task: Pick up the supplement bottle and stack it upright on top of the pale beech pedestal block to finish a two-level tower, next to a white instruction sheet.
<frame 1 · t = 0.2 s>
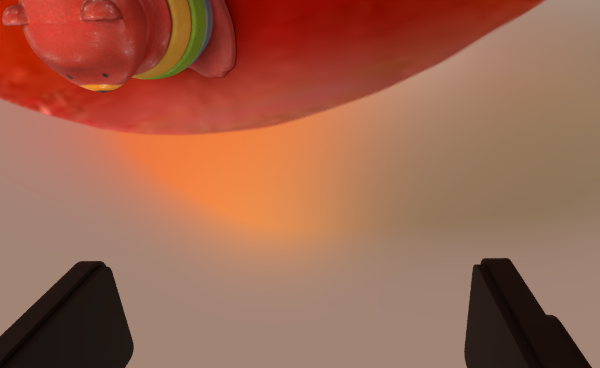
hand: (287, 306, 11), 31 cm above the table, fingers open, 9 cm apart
stacking bear: (179, 18, 38), on the table
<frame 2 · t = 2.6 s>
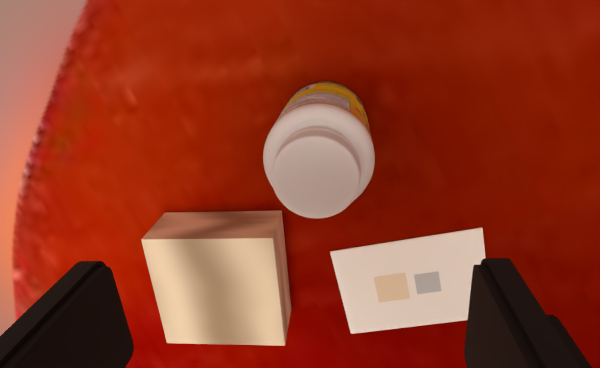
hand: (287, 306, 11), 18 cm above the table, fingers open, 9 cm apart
pedestal: (230, 262, 33), on the table
instruction sheet: (411, 284, 32), on the table
supplement bottle: (325, 120, 28), on the table
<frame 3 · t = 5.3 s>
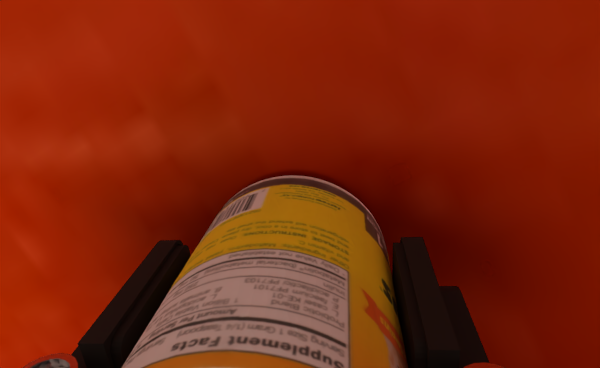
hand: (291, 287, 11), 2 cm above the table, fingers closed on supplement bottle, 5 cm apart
supplement bottle: (299, 244, 13), on the table, touching gripper
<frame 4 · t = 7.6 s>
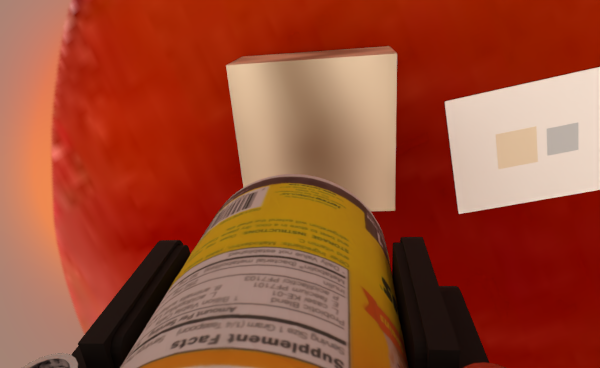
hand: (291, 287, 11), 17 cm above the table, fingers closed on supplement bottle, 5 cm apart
pedestal: (318, 123, 27), on the table
instruction sheet: (541, 142, 26), on the table
supplement bottle: (299, 243, 13), point 15 cm above the table, touching gripper
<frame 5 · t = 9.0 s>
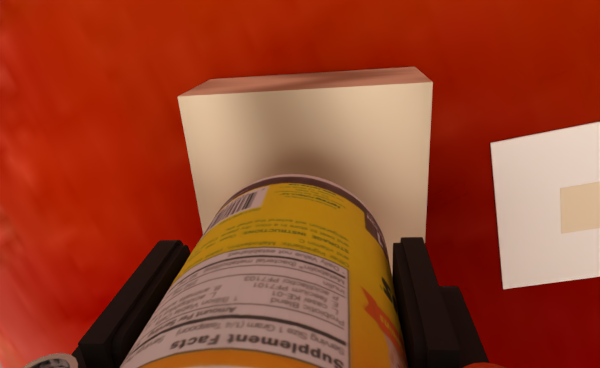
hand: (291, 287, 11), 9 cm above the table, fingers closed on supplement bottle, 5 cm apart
pedestal: (315, 169, 20), on the table
supplement bottle: (299, 243, 13), point 7 cm above the table, touching gripper
when the fingers open (7 cm above the table, at t = 10.2 s): supplement bottle drops 1 cm, resting on pedestal.
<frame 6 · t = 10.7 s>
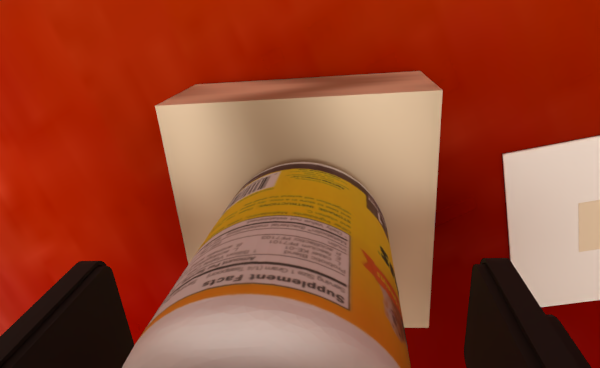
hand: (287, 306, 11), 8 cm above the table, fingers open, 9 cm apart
pedestal: (311, 181, 18), on the table
supplement bottle: (307, 227, 15), point 4 cm above the table, touching pedestal
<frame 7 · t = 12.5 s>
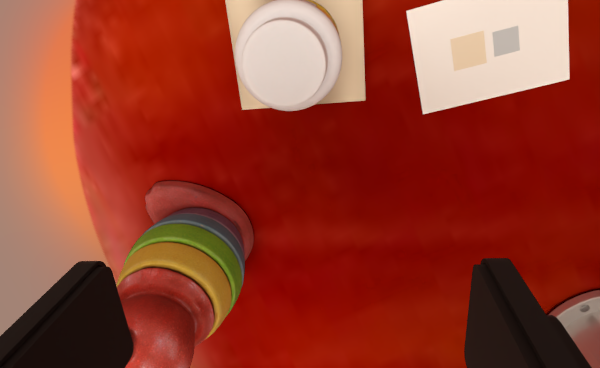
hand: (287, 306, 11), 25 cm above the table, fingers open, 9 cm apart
pedestal: (301, 35, 32), on the table
instruction sheet: (488, 45, 31), on the table
supplement bottle: (299, 41, 28), point 4 cm above the table, touching pedestal
stacking bear: (204, 230, 40), on the table
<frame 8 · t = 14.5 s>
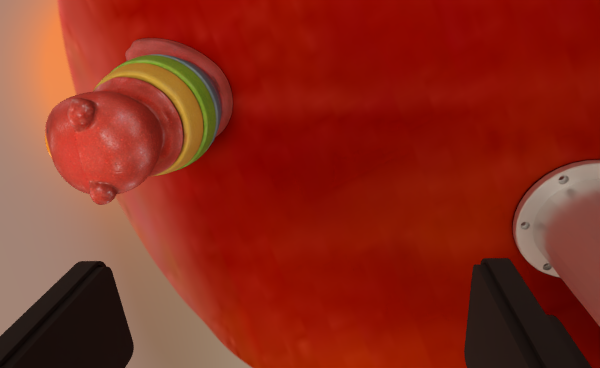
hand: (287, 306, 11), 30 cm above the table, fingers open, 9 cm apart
stacking bear: (185, 97, 40), on the table
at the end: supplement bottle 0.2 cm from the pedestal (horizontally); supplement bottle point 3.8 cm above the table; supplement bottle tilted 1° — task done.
